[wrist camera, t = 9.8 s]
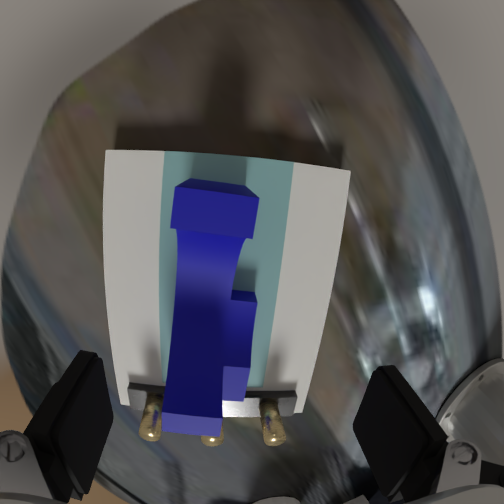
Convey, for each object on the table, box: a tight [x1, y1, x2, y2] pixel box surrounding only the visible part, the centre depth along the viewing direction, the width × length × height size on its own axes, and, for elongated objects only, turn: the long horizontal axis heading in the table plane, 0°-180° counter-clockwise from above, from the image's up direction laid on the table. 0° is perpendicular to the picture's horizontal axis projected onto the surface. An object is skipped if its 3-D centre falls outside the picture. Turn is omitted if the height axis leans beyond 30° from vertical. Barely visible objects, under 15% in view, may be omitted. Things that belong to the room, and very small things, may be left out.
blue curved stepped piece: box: [162, 178, 260, 437], centre depth 15 cm, size 12×4×6 cm, turn 170°
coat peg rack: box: [127, 382, 298, 446], centre depth 19 cm, size 12×2×4 cm, turn 84°
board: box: [103, 150, 351, 413], centre depth 19 cm, size 14×18×2 cm
